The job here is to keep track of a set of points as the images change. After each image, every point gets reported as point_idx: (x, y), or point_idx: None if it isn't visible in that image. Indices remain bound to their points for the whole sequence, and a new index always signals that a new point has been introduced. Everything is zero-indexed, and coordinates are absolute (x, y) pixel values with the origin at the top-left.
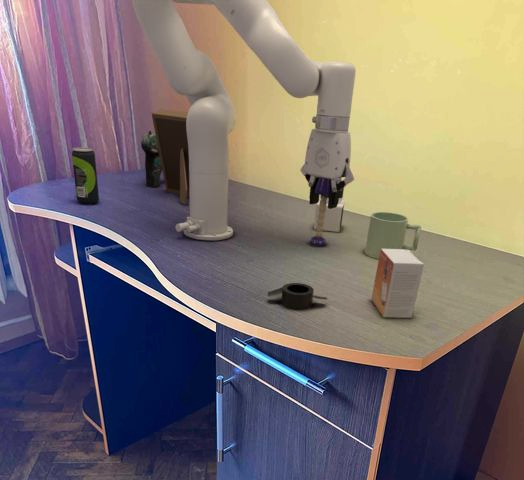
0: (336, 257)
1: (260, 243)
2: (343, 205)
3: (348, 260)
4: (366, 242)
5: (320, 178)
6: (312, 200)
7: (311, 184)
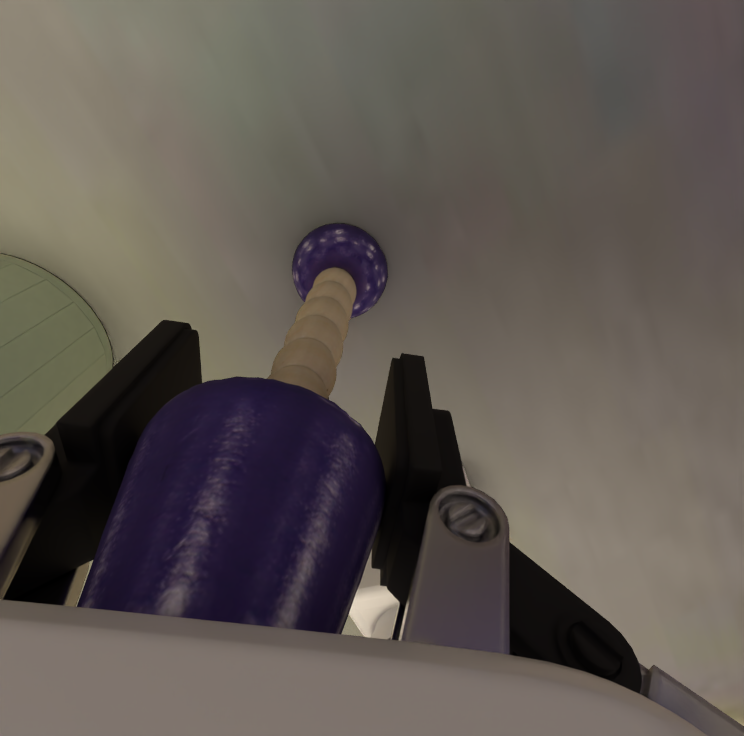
0: (121, 104)
1: (669, 3)
2: (355, 622)
3: (39, 100)
4: (62, 334)
5: (259, 621)
6: (394, 377)
7: (450, 517)
